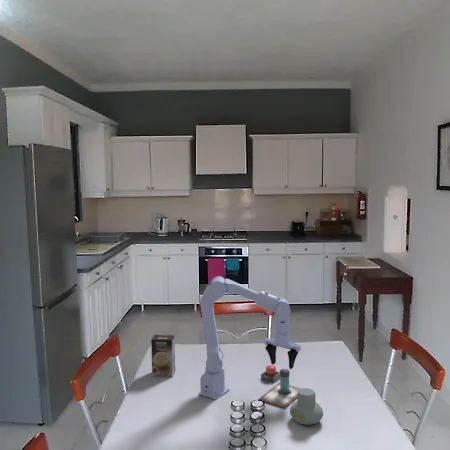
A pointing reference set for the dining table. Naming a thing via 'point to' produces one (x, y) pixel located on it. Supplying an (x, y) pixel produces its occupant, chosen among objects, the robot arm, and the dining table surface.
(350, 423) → the dining table surface
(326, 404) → the dining table surface
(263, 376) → the button collar
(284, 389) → the marker
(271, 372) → the button
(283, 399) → the picture frame
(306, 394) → the air freshener
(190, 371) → the dining table surface
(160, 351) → the coffee box
